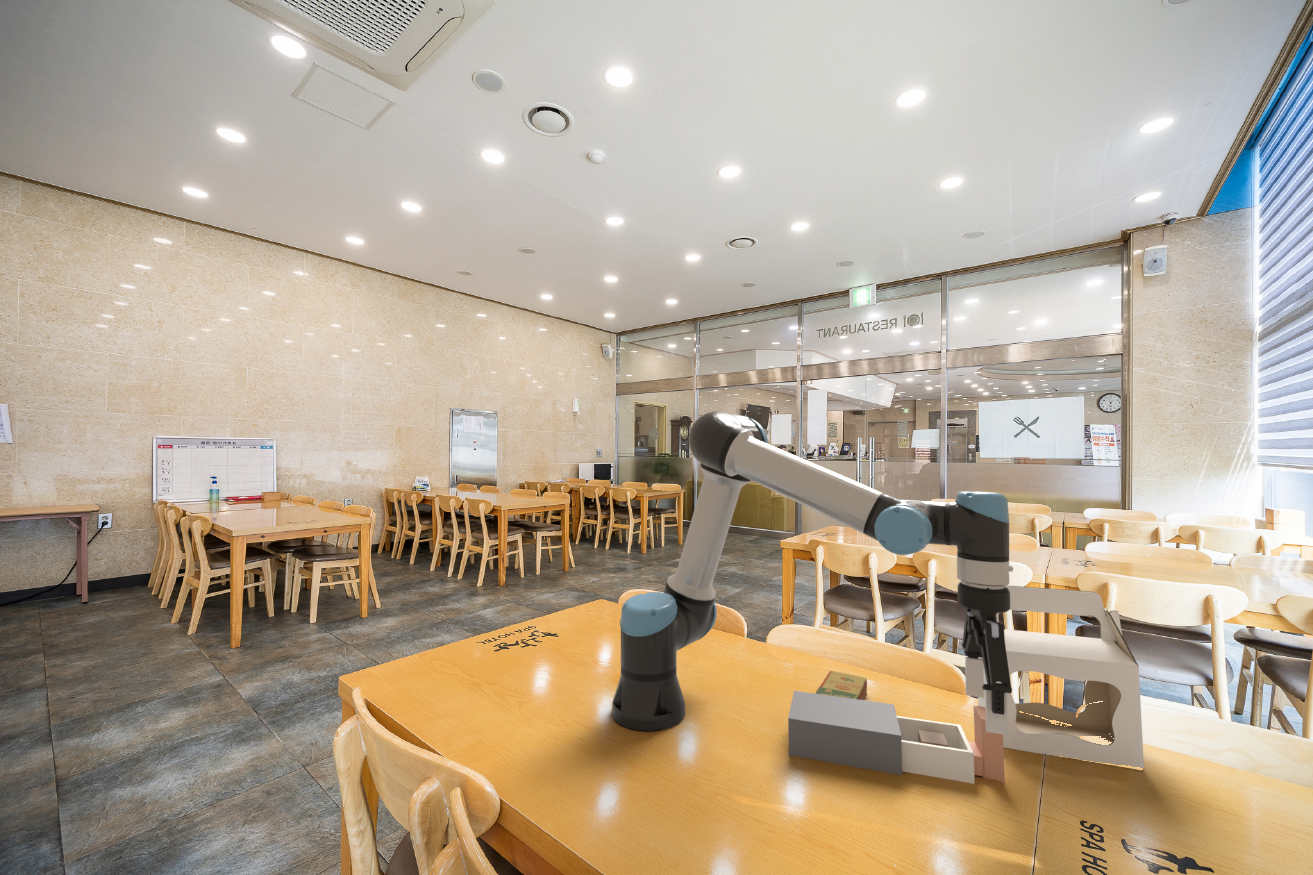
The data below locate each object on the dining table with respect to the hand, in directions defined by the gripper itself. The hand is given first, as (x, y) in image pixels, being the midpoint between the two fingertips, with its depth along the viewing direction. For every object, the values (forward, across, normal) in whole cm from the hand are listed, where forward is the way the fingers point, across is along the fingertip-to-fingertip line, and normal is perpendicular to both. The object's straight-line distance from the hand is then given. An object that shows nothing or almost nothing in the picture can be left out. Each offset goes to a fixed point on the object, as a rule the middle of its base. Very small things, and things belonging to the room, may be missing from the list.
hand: (984, 712), depth 87 cm
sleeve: (+10, 0, +22) cm, 25 cm away
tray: (+10, 0, +8) cm, 13 cm away
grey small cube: (+9, 0, +8) cm, 12 cm away
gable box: (+10, +17, -15) cm, 25 cm away
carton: (+11, +20, +22) cm, 32 cm away
